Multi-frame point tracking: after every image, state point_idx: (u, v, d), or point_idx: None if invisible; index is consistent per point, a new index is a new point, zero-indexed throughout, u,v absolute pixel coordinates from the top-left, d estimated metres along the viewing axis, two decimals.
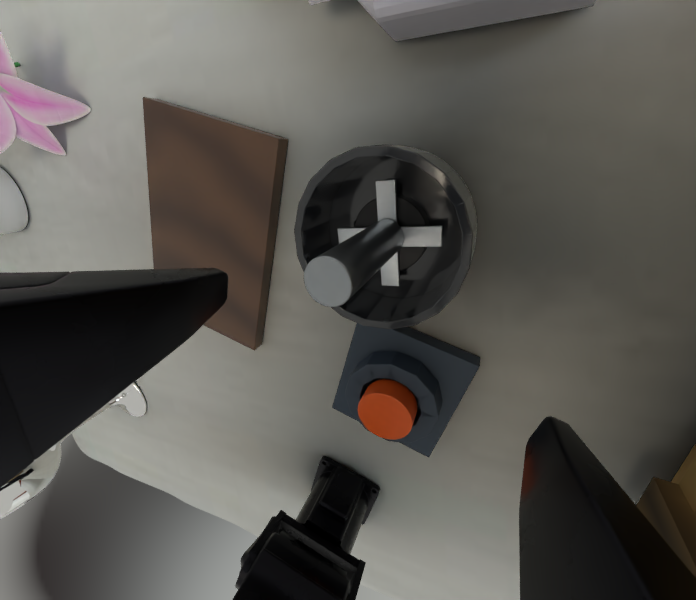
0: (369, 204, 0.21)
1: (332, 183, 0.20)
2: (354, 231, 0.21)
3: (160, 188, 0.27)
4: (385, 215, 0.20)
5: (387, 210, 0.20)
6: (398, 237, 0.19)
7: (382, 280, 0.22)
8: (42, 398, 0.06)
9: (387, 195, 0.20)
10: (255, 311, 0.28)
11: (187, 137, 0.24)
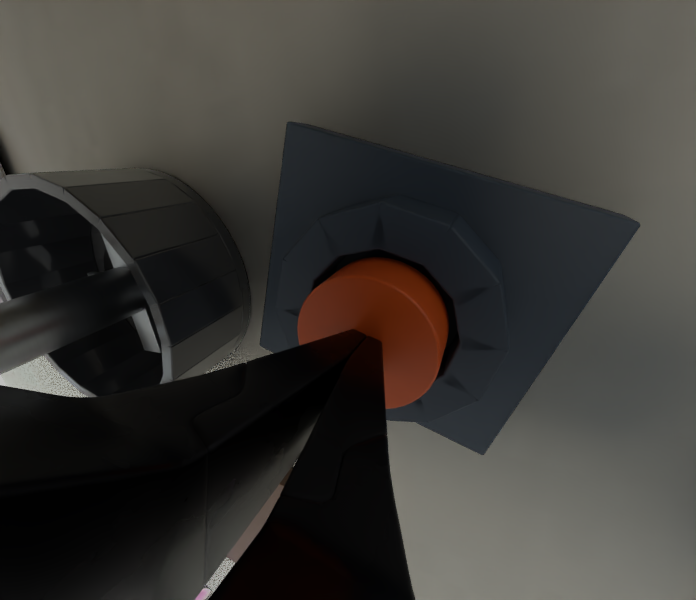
0: None
1: (102, 344, 0.17)
2: (139, 329, 0.16)
3: None
4: None
5: None
6: (93, 274, 0.14)
7: None
8: (227, 521, 0.05)
9: None
10: None
11: None
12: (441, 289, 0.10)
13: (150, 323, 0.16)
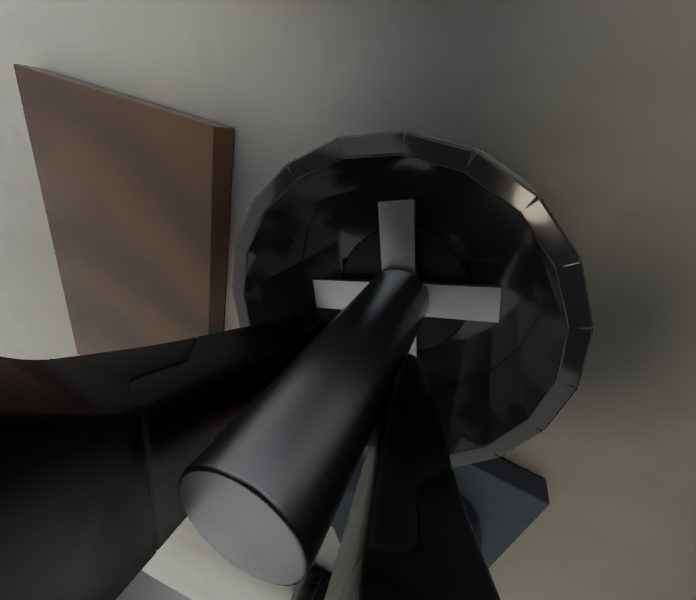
0: (367, 240, 0.12)
1: (301, 204, 0.11)
2: (341, 285, 0.12)
3: (58, 203, 0.18)
4: (395, 261, 0.11)
5: (399, 253, 0.11)
6: (422, 308, 0.10)
7: None
8: (175, 486, 0.06)
9: (399, 227, 0.11)
10: None
11: (82, 127, 0.16)
12: None
13: None
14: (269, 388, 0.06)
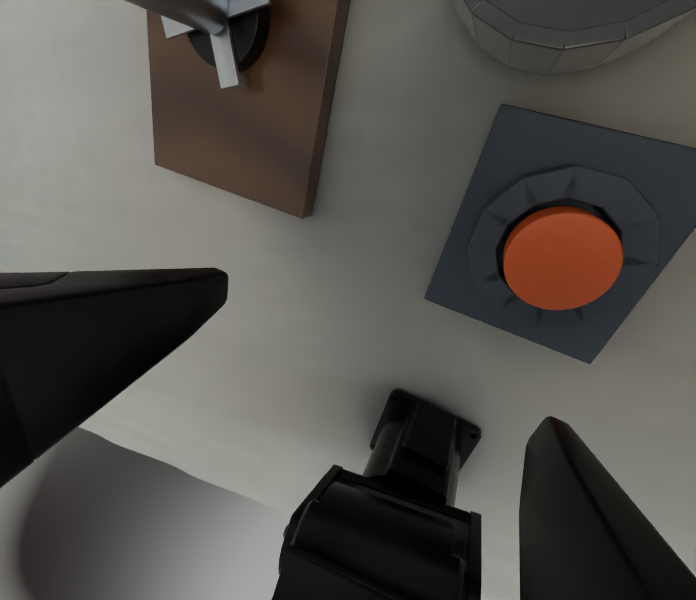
0: None
1: None
2: None
3: None
4: None
5: None
6: None
7: (220, 80, 0.18)
8: (42, 398, 0.06)
9: None
10: (308, 144, 0.18)
11: None
12: None
13: (188, 30, 0.17)
14: None
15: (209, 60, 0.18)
